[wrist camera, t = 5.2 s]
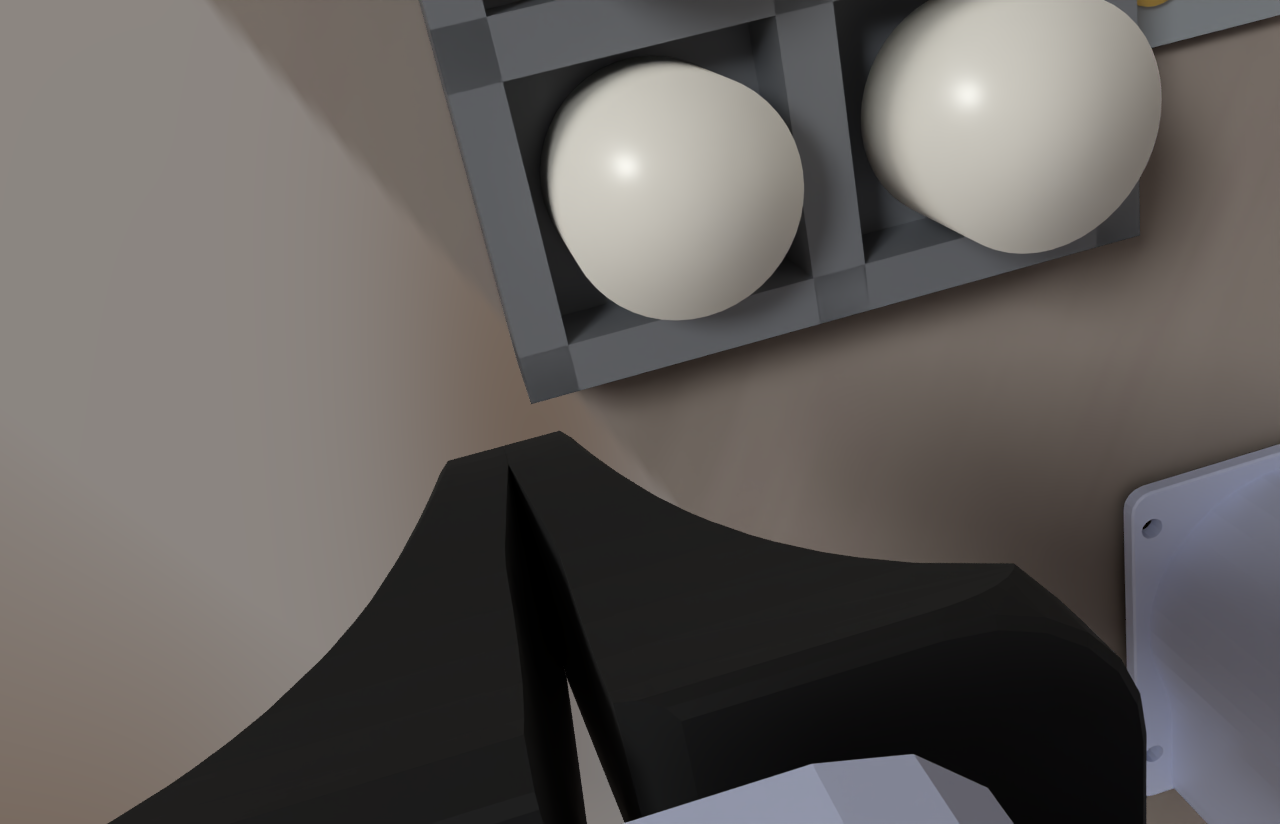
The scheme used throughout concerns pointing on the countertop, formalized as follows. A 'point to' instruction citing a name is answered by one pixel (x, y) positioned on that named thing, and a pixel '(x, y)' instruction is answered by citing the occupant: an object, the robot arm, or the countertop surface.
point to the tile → (1197, 17)
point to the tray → (744, 52)
